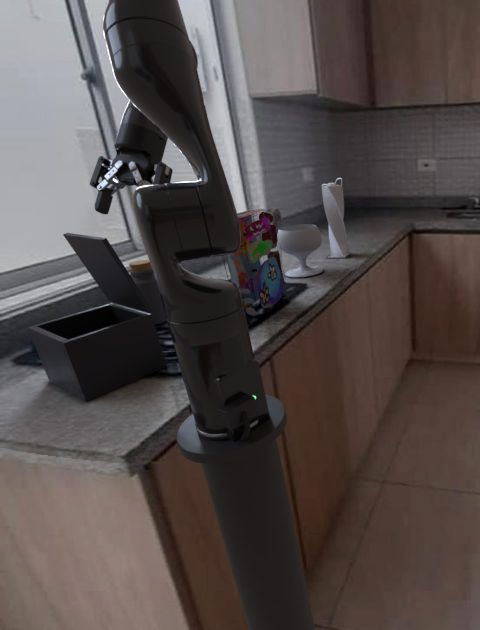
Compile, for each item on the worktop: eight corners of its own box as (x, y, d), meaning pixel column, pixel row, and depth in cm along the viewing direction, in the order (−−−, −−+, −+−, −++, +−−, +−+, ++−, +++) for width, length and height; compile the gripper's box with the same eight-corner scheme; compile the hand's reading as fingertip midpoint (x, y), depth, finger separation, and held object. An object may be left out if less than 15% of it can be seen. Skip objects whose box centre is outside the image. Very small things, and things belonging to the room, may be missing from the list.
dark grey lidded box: (86, 402, 74) (63, 343, 70) (49, 381, 82) (27, 327, 78) (167, 366, 85) (151, 314, 81) (127, 351, 93) (112, 302, 89)
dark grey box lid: (101, 240, 73) (106, 237, 73) (62, 234, 80) (67, 232, 81) (149, 313, 81) (152, 310, 81) (109, 301, 89) (113, 299, 89)
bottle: (162, 315, 113) (145, 258, 108) (175, 318, 110) (159, 260, 105) (138, 323, 109) (120, 264, 103) (152, 326, 106) (134, 266, 100)
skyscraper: (354, 253, 167) (346, 176, 157) (348, 259, 159) (339, 178, 149) (332, 254, 168) (323, 177, 158) (325, 259, 161) (315, 179, 150)
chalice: (275, 279, 139) (267, 232, 134) (292, 267, 152) (285, 223, 146) (317, 279, 137) (311, 231, 132) (331, 267, 150) (326, 222, 145)
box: (283, 290, 128) (268, 204, 119) (303, 290, 127) (289, 204, 118) (235, 323, 105) (213, 220, 96) (259, 323, 104) (238, 219, 95)
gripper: (94, 118, 79) (68, 202, 77) (163, 123, 77) (139, 210, 75) (127, 141, 87) (105, 219, 84) (191, 147, 84) (170, 227, 82)
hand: (121, 215), depth 79 cm, fingers open, 8 cm apart
